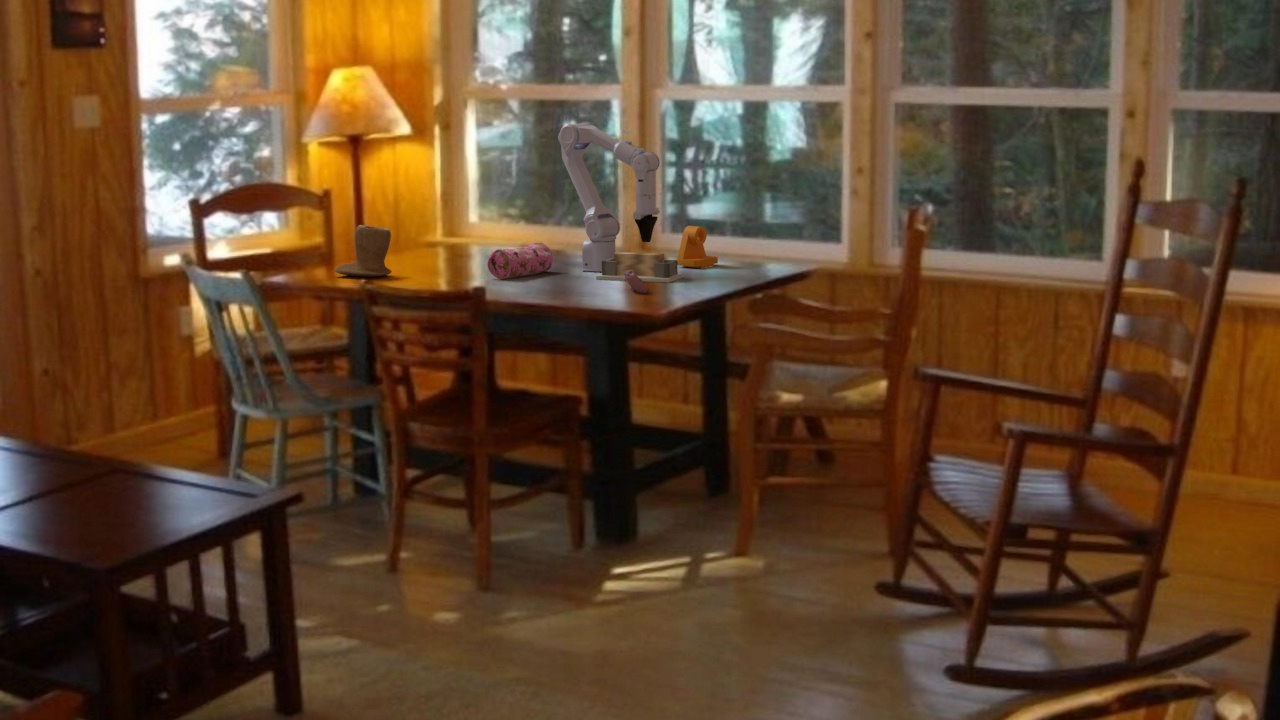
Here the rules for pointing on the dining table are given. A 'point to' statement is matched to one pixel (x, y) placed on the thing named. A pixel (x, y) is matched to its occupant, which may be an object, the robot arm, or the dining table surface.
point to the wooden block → (637, 262)
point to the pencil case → (520, 261)
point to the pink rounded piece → (635, 282)
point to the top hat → (369, 253)
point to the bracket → (694, 249)
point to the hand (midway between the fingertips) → (646, 241)
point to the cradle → (662, 274)
